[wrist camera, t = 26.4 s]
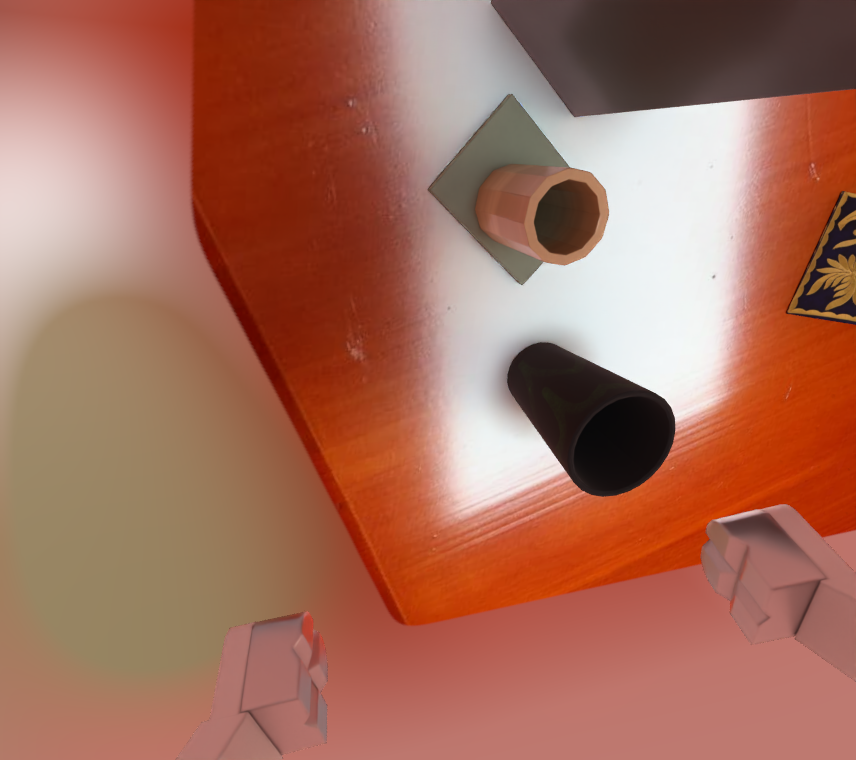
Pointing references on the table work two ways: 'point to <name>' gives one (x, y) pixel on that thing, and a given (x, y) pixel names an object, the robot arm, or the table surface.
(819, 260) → the decorative box
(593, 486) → the cup
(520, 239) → the orange hollow cylinder
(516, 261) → the felt coaster
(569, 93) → the peg stand
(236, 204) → the table surface
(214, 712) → the robot arm
